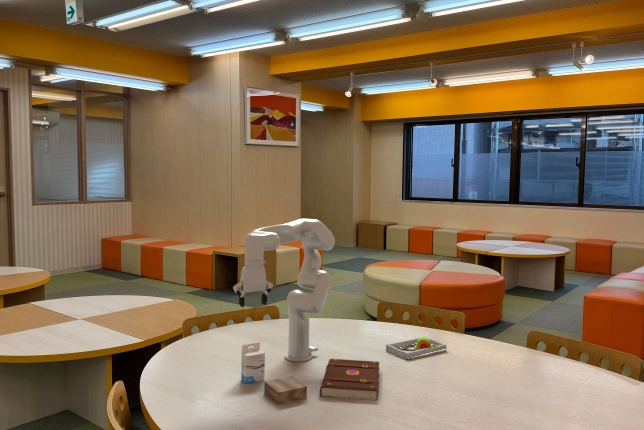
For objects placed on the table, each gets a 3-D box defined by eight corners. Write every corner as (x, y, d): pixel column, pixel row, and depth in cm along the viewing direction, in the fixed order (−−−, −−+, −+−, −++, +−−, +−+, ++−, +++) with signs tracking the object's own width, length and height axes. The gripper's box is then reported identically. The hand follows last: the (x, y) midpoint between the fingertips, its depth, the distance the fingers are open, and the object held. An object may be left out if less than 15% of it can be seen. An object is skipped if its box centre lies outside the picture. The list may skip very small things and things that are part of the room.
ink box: (246, 384, 213) (246, 348, 212) (240, 380, 217) (241, 345, 216) (265, 380, 218) (265, 345, 217) (259, 376, 222) (260, 341, 221)
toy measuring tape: (436, 354, 254) (436, 340, 253) (395, 350, 258) (396, 337, 257) (436, 349, 260) (436, 336, 260) (396, 346, 264) (396, 333, 264)
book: (379, 371, 232) (379, 360, 232) (378, 401, 201) (378, 388, 200) (327, 367, 235) (328, 356, 234) (318, 397, 204) (319, 384, 203)
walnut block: (291, 387, 211) (291, 375, 211) (306, 399, 201) (306, 386, 201) (264, 393, 205) (264, 381, 205) (278, 405, 195) (278, 392, 195)
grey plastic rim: (424, 342, 272) (424, 336, 272) (446, 350, 260) (446, 344, 260) (385, 350, 258) (385, 344, 258) (406, 359, 246) (406, 353, 245)
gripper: (269, 261, 223) (268, 301, 224) (230, 263, 214) (229, 305, 215) (277, 264, 216) (276, 305, 217) (237, 266, 207) (236, 309, 208)
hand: (253, 305), depth 216 cm, fingers open, 9 cm apart
